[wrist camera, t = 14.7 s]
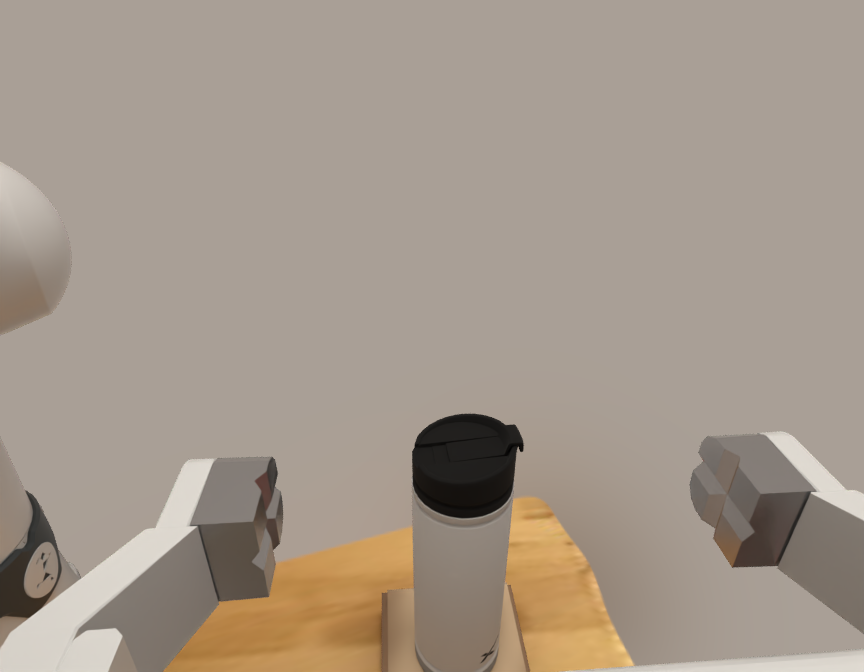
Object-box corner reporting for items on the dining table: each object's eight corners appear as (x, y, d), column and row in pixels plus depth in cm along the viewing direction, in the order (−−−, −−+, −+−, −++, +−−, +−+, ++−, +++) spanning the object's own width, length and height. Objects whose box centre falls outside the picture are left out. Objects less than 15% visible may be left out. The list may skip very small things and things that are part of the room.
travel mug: (511, 682, 41) (537, 468, 31) (419, 694, 40) (416, 480, 30) (492, 604, 46) (509, 402, 36) (411, 613, 45) (406, 409, 36)
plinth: (383, 758, 40) (380, 728, 38) (383, 615, 49) (381, 585, 48) (537, 745, 41) (543, 715, 39) (508, 607, 50) (511, 577, 48)
